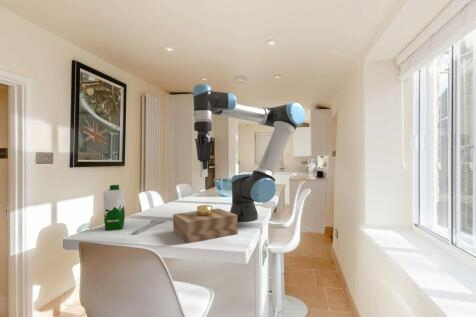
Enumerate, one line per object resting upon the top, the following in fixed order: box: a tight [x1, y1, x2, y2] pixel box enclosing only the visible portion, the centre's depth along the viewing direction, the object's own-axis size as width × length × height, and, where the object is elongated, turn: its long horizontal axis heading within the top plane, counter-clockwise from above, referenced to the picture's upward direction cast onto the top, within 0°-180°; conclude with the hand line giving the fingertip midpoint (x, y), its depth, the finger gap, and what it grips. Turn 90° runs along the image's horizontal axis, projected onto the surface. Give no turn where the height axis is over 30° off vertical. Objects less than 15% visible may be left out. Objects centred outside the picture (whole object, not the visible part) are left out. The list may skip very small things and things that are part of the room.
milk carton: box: [102, 184, 126, 231], centre depth 130 cm, size 9×9×20 cm
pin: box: [196, 204, 213, 216], centre depth 119 cm, size 6×6×11 cm
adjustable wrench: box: [132, 218, 167, 235], centre depth 132 cm, size 25×6×2 cm, turn 163°
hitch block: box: [172, 208, 239, 244], centre depth 119 cm, size 22×18×8 cm
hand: (204, 176), depth 119 cm, fingers closed
